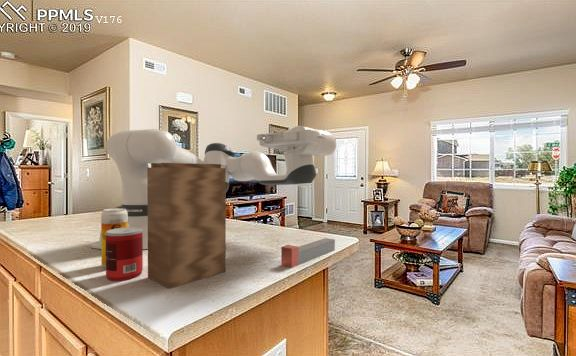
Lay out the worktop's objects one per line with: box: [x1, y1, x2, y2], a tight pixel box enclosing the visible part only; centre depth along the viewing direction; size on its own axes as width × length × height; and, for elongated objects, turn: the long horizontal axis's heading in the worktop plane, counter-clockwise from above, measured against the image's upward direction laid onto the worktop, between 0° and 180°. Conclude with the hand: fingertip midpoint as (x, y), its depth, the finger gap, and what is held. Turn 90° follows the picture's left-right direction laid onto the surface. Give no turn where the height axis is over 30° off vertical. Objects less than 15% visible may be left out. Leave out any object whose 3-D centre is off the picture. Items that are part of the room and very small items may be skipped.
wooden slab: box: [147, 163, 227, 289], centre depth 74 cm, size 15×10×27 cm, turn 138°
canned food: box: [105, 227, 144, 282], centre depth 73 cm, size 8×8×11 cm
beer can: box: [100, 208, 128, 269], centre depth 81 cm, size 6×6×15 cm
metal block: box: [280, 237, 336, 268], centre depth 90 cm, size 23×4×5 cm, turn 142°
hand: (269, 136), depth 85 cm, fingers open, 8 cm apart
